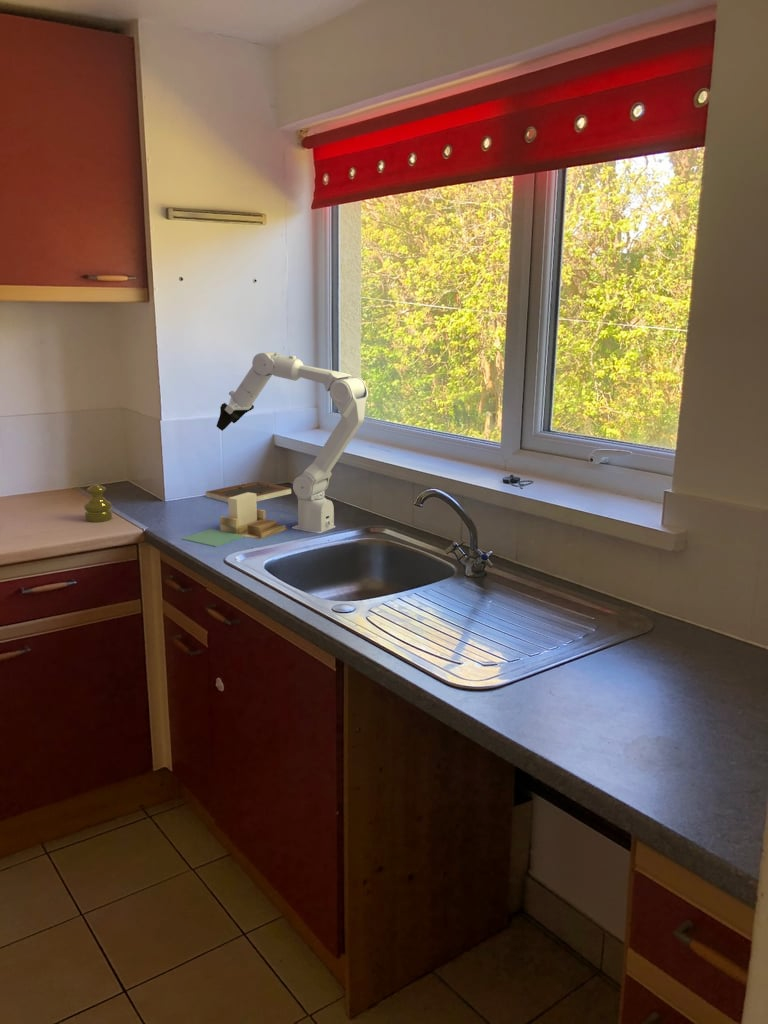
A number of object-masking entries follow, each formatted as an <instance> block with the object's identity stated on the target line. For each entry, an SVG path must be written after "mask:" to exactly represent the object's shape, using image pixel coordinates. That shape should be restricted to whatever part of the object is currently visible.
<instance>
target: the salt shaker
mask: <svg viewBox="0 0 768 1024" xmlns="http://www.w3.org/2000/svg"><path fill="white" fill-rule="evenodd" d="M106 488H107V487H105V486H103V485H100V484H97V483H96V484H93V485H92V486H90V487H88V488H86V491H87V492H88V493H90V494H91V498H90V499H89V500H88V501H87V502H86V503H84V504H83V509H84V510H85V511H84V519H85V521H87V522H91V523H102V522H107V521H110V520H111V519H113V510H112V509H111V508H112V503H111V502H110V501H109V500H107V499H106V498H105V497H104V496H103V493H104V492H105V491H106Z"/></svg>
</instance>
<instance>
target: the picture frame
mask: <svg viewBox="0 0 768 1024" xmlns="http://www.w3.org/2000/svg"><path fill="white" fill-rule="evenodd" d="M259 481H260V482H255V481H252V482H253V483H250V482H246V483H247V484H245V483H240V484H241V485H240V484H235V485H231V486H227V487H221V488H217V489H211V490H207V491H205V497H206V498H209V499H214V500H217V501H221V502H225V503H227V504H228V498H230V497H233V496H237V495H240V494H244V493H247V492H250V493H255V494H256V499H257V502H260V501H264V500H269V499H273V498H277V497H283V496H287V495H291V494H292V488H290V487H286V486H281V485H277V484H273V483H269V482H264V481H261V480H259Z"/></svg>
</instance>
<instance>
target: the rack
mask: <svg viewBox="0 0 768 1024" xmlns="http://www.w3.org/2000/svg"><path fill="white" fill-rule="evenodd" d="M266 516H267V514H266V510H265V509H260V508H257V521H254V522H251V523H248V524H245V525H242V526H240V527H239V519H235V518H230V517H229V516H226V515H220V517H219V525H220V530H219V531H224V532H229V533H234V534H239V535H243V536H245V537H247V538H252V539H256V540H262V539H264V538H265V539H266V538H267V537H271V536H273V535H276V534H279V533H280V532H284V531H287V530H288V528H287V527H286V524H283V525H280V526H279V527H277V528H274V529H271V530H268V531H265V532H263V533H260V536H256V535H251V534H248V526H247V525H250V524H253V523H256V522H259V521H262V520H265V519H267V517H266Z"/></svg>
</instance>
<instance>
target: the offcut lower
mask: <svg viewBox="0 0 768 1024" xmlns="http://www.w3.org/2000/svg"><path fill="white" fill-rule="evenodd" d="M277 525H278V526H275V527H273V528H270V529H267V530H264V531H261V532H257V531H252V530H248V534H251V535H256V536H260V533H263V532H265V531H268V530H271V529H274V528H277V527H279V526H281V525H280V524H277Z"/></svg>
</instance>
